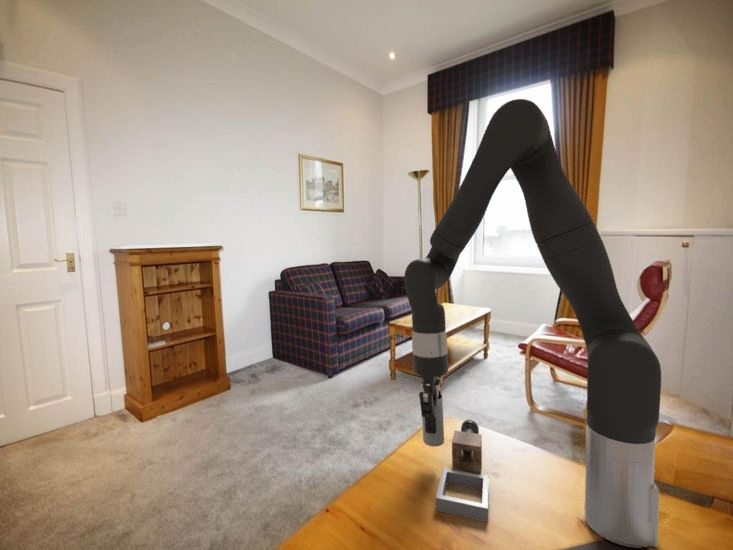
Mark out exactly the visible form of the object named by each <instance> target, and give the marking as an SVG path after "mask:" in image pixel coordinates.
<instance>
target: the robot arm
mask: <svg viewBox="0 0 733 550" xmlns="http://www.w3.org/2000/svg"><path fill="white" fill-rule="evenodd" d="M509 170H511V172H512V173H513V176H514V177H515V178H516V181H517V184H518V185H519V186H520V189H521V191H522V194H523V198H524V201H525V207H526V212H527V217H528V221H529V222H528V223H529V226H530V231H531V232H532V236H533V239H534V242H535V244H536V246H537V247H536V248H537V249H538V251H539V253H540V256H541V258H542V260H543V262H544V265H545V266H546V268H547V270H548V272H549V274H550V275H551V277H552V279H553V281H554V282H555V284H556V285H557V287H558V288H559V290H560V291H561V293H562V294H563V296H564V297H565V299H566V300H567V301H568V302H569V304H570V306H571V308H572V310H573V312H574V315H575V317H576V319H577V322H578V325H579V328H580V331H581V334H582V337H583V340H584V344H585V347H586V348H585V349H586V353H587V356H586V357H587V372H586V373H587V378H586V379H587V384H586V385H587V386H586V390H587V391H586V393H587V394H586V423H585V424H586V430H585V432H586V433H585V434H586V435H585V436H586V437H585V441H586V442H585V476H584V477H585V481H584V482H585V484H584V485H585V487H584V489H585V490H584V518H585V521H586V523H587V525H588V526H589V527H590V529H591V530H593V532H595V533H596V534H597V535H598V536H600V537H601V538H603V537H605V538H610V539H614V540H618V541H621V542H624V543H627V544H634V545H641V546H644V547H645V548H647V547H654V548H657V547H658V537H659V515H660V514H659V512H660V511H659V509H660V489H659V487H658V486H657V484H656V483H655V461H656V459H655V457H656V456H655V453H656V429H657V427H658V425H659V422H660V408H661V393H662V392H661V390H662V366H661V363H660V359H658V357H657V355H656V353H655V352H654V350H653V349H652V347H651V345H650V343H648V341H647V340H646V338H645V337H644V336H643V335H642V333H641V331H640V330H639V328H638V326H637V325H636V322H634V320H633V319H632V317H631V315H630V313H629V311H628V310H627V308H626V306H625V304H624V302H623V301H622V298H621V296H620V293H619V290H618V287H617V284H616V279H615V275H614V271H613V267H612V264H611V262H610V261H611V260H610V258H609V255H608V252H607V249H606V247H605V244H604V242H603V239H602V237H601V234H600V233H599V230H598V228H597V227H596V224H595V222H594V219H593V218H592V216H591V214H590V213H589V211H588V209H587V207H586V205H585V203H584V202H583V200H582V199H581V196H580V195H579V193H578V192H577V190H576V189H575V188H574V186H573V185H572V182H571V181H570V180H569V178H568V177H567V175H566V174H565V171H564V169H563V166H562V164H561V162H560V158H559V155H558V153H557V150H556V147H555V144H554V140H553V137H552V133H551V129H550V125H549V122H548V119H547V118H546V116H545V115H544V112H543V111H542V109H541V108H540V107H539V105H537V104H536V103H535V102H534V101H532V100H529V99H526V98H515V99H511V100H509V101H507V102H505V103H503V104H502V105H500V107H498V108H497V110H496V111H495V112H494V113H493V114H492V116H491V117H490V120H489V122H488V124H487V126H486V128H485V130H484V133H483V135H482V138H481V140H480V143H479V145H478V147H477V150H476V153H475V155H474V157H473V159H472V161H471V163H470V166H469V168H468V171H467V172H466V174H465V176H464V179H463V180H462V182H461V183H460V187H459V188H458V190H457V192H456V193H455V195H454V196H453V199H452V201H451V202H450V204H449V206H448V207H447V209H446V211H445V213H444V214H443V216H442V217H441V219H440V220H439V222H438V223H437V225H436V227H435V229H434V230H433V232H432V233H431V236H430V238H429V243H430V246H431V248H430V249H429V251H428V253H427V255H426V257H425V258H417V259H414V260H412V261H410V263H409V264H407V267H406V268H405V272H404V276H403V280H404V281H403V282H404V283H403V284H404V288H405V293H406V296H407V299H408V303H409V307H410V310H411V324H412V336H411V346H412V347H411V351H412V352H411V353H412V371H413V372H414V374H415V375H417V376H420V377H422V381H420V391H419V393H418V394H419V395H418V396H419V404H420V412H421V418H422V417H425V431H426V433H431V434H435V433H436V406H437V405H438V400H439V394H441V395H442V393H443V392H442V384H443V381H442V376H445V375H446V374H448V372H449V353H448V352H449V351H448V350H449V349H448V348H449V347H448V337H447V331H446V329H447V328H446V311H445V307H444V305H443V304H442V303H440V302H438V297H437V292H436V291H437V290H439V289H440V288H441V287H443V286H444V285H445V284H446V283H447V282H448V281H449V279H450V277H451V276H452V275H453V272H454V270H455V267H456V266H457V263H458V261H459V258H460V256H461V254H462V253H463V251H464V249H466V247H467V245H469V242H470V240H471V239H472V238H473V236H474V235H475V233H476V232H477V230H478V228H479V226H480V225H481V223H482V221H483V219H484V216H485V214H486V212H487V210H488V207H489V205H490V202H491V201H492V198H493V195H494V193H495V192H496V189H498V186H499V184H500V183H501V181H502V180H503V179H504V177H505V176H506V175H507V173H508V172H509ZM433 399H435V401H433ZM427 409H430V410H431V411H429V410H427Z"/></svg>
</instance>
